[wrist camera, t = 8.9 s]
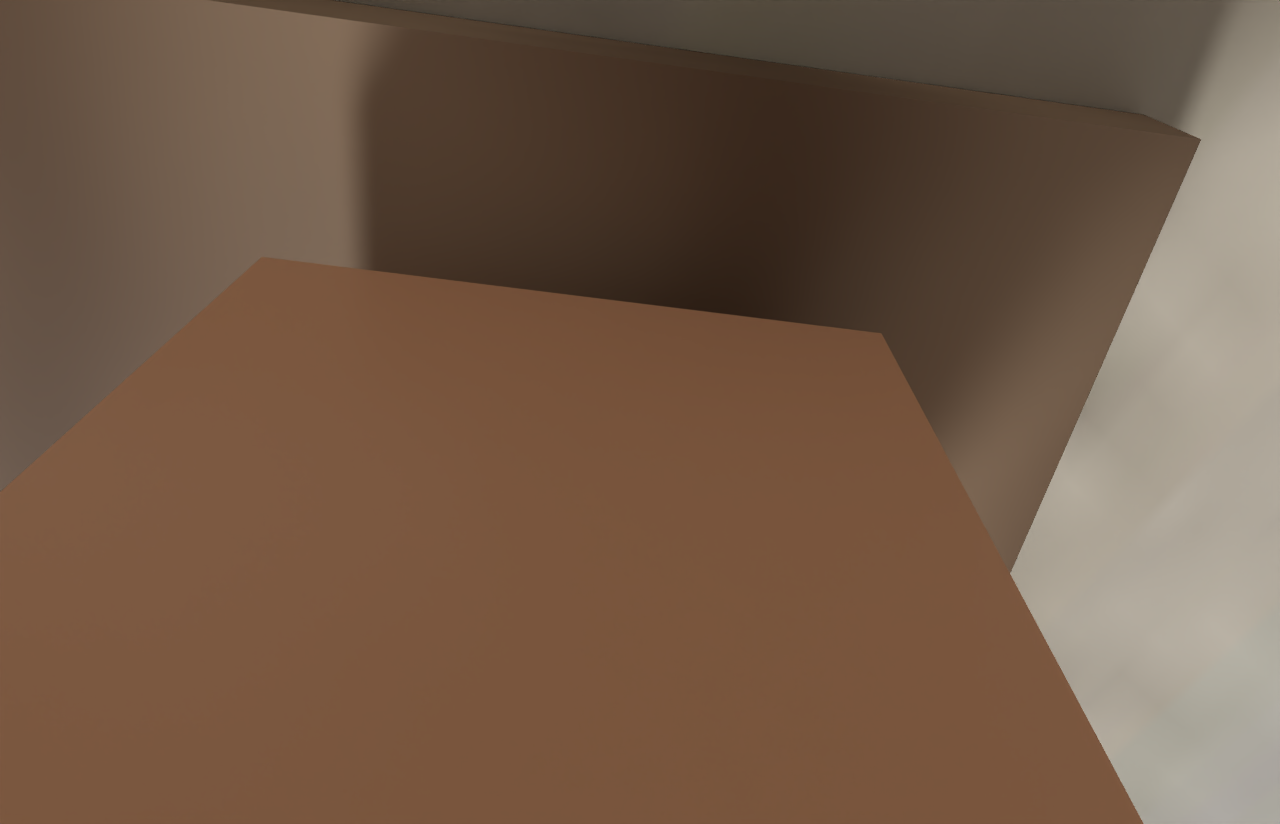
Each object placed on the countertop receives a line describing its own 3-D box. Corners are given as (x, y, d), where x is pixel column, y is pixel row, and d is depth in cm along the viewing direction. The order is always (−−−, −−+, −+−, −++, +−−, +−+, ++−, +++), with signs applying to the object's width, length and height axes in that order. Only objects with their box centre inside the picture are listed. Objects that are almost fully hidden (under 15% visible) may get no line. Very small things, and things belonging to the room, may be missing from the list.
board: (-749, 552, 14) (-866, 606, 12) (-1422, -248, 9) (-1710, -268, 8) (900, 719, 15) (918, 781, 14) (1144, 114, 10) (1201, 140, 9)
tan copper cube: (302, 698, 11) (-104, 1617, 5) (261, 256, 8) (-785, 1202, 2) (761, 743, 12) (880, 1659, 6) (881, 333, 9) (1420, 1342, 3)
